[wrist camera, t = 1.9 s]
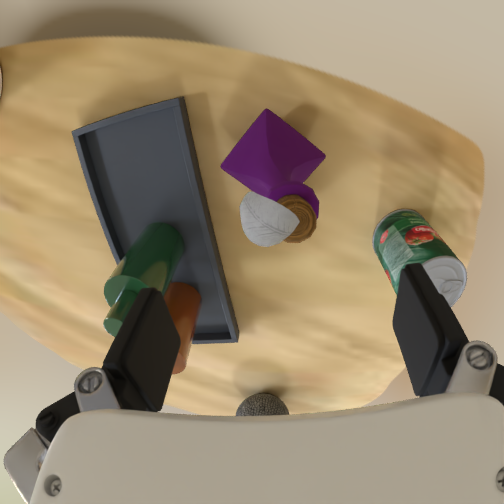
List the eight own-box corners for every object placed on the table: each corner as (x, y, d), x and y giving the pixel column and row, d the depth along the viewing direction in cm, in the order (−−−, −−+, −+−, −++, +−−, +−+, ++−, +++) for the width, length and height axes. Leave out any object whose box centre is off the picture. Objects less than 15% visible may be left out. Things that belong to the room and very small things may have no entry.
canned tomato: (370, 265, 39) (395, 324, 29) (373, 210, 34) (406, 262, 25) (423, 259, 38) (457, 313, 28) (430, 206, 33) (474, 253, 24)
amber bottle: (155, 283, 41) (116, 368, 28) (196, 280, 40) (167, 371, 28) (168, 315, 44) (139, 399, 32) (206, 313, 44) (186, 402, 31)
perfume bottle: (321, 148, 31) (371, 223, 16) (277, 198, 35) (282, 306, 19) (266, 104, 29) (262, 133, 14) (223, 158, 32) (179, 241, 17)
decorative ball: (236, 406, 58) (231, 448, 50) (239, 381, 53) (234, 428, 45) (284, 410, 58) (284, 452, 50) (293, 385, 53) (295, 432, 45)
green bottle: (134, 225, 37) (76, 303, 24) (177, 219, 36) (131, 301, 23) (148, 265, 40) (104, 349, 27) (190, 261, 39) (156, 351, 26)
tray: (80, 127, 31) (71, 131, 29) (183, 96, 29) (178, 97, 27) (157, 335, 48) (154, 344, 46) (239, 332, 46) (238, 342, 44)
